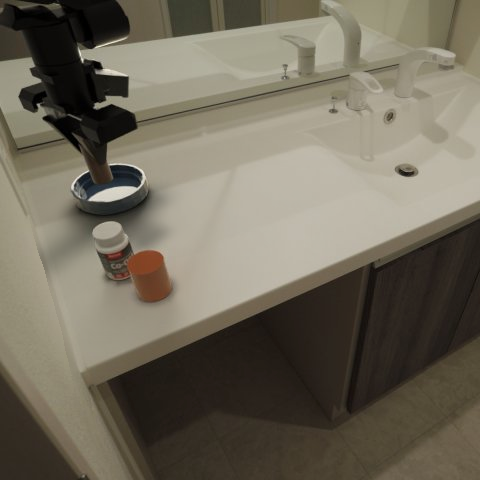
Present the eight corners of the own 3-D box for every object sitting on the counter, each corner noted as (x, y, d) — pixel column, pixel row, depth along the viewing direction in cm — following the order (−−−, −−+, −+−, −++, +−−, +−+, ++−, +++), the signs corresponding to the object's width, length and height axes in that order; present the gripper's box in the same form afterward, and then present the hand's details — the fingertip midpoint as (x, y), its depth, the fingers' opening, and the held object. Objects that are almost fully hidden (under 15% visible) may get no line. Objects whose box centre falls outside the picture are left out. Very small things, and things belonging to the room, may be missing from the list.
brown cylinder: (89, 183, 67) (73, 144, 62) (100, 173, 69) (86, 134, 64) (106, 186, 66) (91, 147, 62) (116, 175, 69) (103, 137, 64)
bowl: (61, 210, 76) (54, 196, 74) (102, 172, 86) (97, 159, 84) (126, 222, 75) (121, 208, 73) (161, 182, 85) (157, 168, 82)
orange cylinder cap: (131, 298, 62) (119, 271, 58) (147, 274, 66) (138, 247, 62) (162, 304, 61) (153, 277, 57) (177, 280, 65) (169, 252, 61)
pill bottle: (118, 285, 64) (101, 245, 58) (100, 271, 66) (82, 231, 60) (144, 268, 67) (130, 228, 61) (127, 255, 69) (112, 215, 63)
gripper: (155, 57, 56) (177, 157, 67) (69, 30, 63) (102, 124, 74) (81, 83, 49) (119, 190, 60) (-6, 49, 56) (41, 151, 67)
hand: (96, 160), depth 65 cm, fingers closed on brown cylinder, 3 cm apart
